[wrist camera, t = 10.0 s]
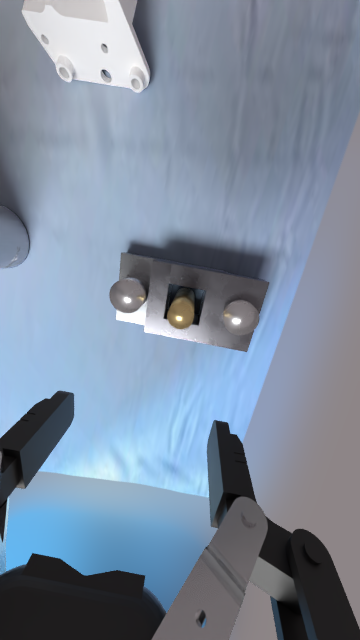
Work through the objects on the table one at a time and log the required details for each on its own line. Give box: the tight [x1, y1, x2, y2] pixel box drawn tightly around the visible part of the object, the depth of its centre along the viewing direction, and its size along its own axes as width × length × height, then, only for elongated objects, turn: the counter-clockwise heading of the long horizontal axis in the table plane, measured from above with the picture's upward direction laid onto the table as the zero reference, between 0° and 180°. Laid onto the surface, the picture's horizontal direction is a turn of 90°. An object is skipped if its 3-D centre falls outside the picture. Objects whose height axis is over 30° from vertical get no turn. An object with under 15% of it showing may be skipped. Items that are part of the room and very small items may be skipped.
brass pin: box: [167, 288, 195, 329], centre depth 28 cm, size 3×3×10 cm
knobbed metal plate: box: [110, 252, 269, 352], centre depth 30 cm, size 20×10×6 cm, turn 80°
